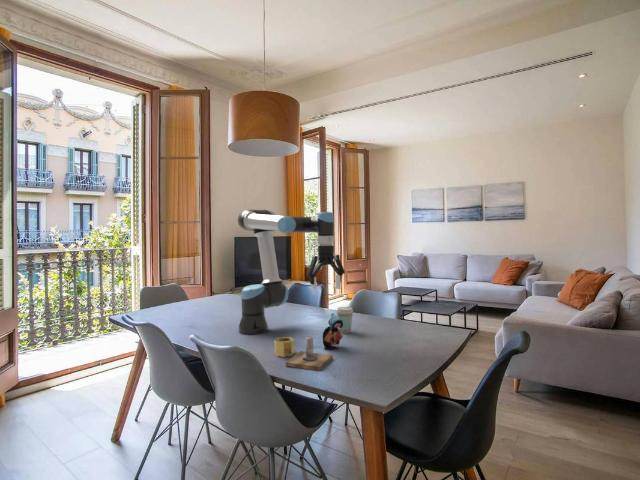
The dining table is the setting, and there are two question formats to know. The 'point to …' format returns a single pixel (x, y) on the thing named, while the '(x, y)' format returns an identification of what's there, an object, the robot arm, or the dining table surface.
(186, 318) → the dining table surface
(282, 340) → the hub
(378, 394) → the dining table surface
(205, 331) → the dining table surface
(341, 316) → the coffee cup
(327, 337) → the figurine
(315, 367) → the shaft block
